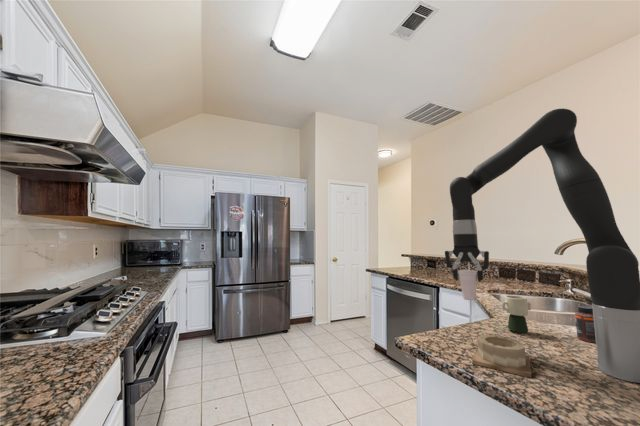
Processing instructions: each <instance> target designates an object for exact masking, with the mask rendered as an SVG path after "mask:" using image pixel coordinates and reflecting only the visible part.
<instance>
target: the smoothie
mask: <svg viewBox="0 0 640 426" xmlns="http://www.w3.org/2000/svg"><path fill="white" fill-rule="evenodd" d="M470 263H471V262H467V269H458V278H459V283H460V288H461V293H462V298H463V300H465V301H466V300H467V301H476V299H477V297H476V296H477V286H478V285H477V283H478V270H471V264H470Z"/></svg>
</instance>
